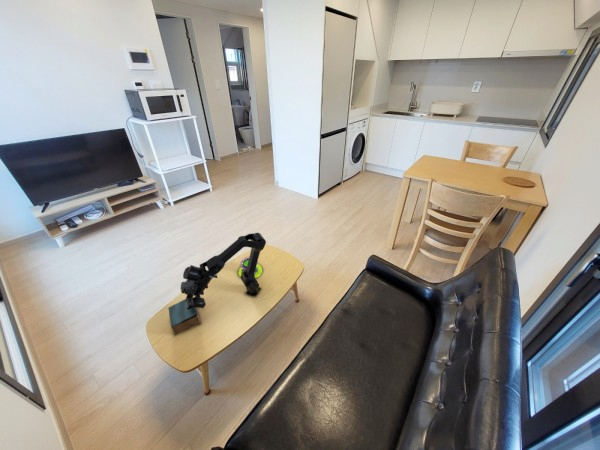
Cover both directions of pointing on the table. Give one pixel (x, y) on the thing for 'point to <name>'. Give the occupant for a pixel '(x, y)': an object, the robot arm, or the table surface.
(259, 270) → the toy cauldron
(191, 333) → the table surface
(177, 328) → the box
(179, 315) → the lid
